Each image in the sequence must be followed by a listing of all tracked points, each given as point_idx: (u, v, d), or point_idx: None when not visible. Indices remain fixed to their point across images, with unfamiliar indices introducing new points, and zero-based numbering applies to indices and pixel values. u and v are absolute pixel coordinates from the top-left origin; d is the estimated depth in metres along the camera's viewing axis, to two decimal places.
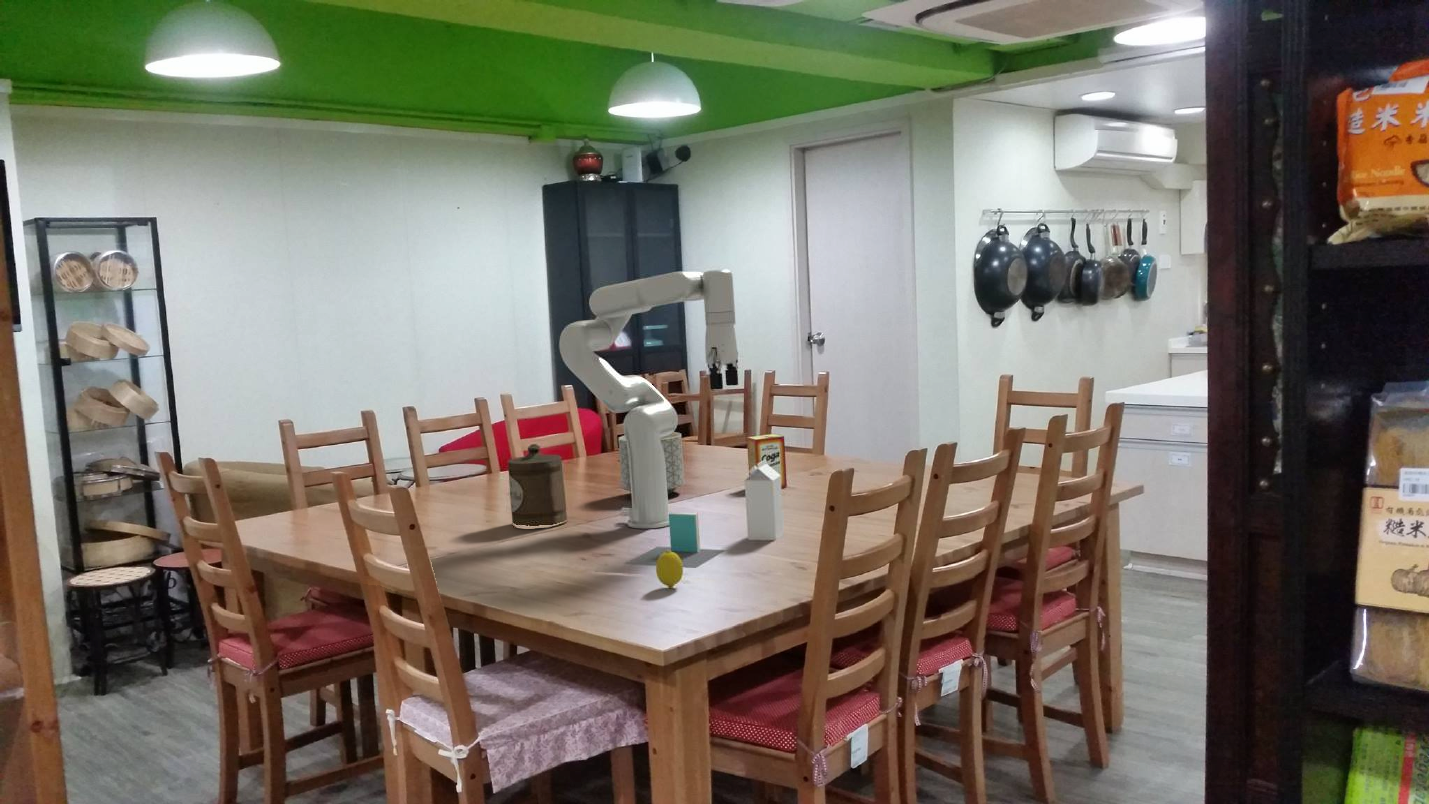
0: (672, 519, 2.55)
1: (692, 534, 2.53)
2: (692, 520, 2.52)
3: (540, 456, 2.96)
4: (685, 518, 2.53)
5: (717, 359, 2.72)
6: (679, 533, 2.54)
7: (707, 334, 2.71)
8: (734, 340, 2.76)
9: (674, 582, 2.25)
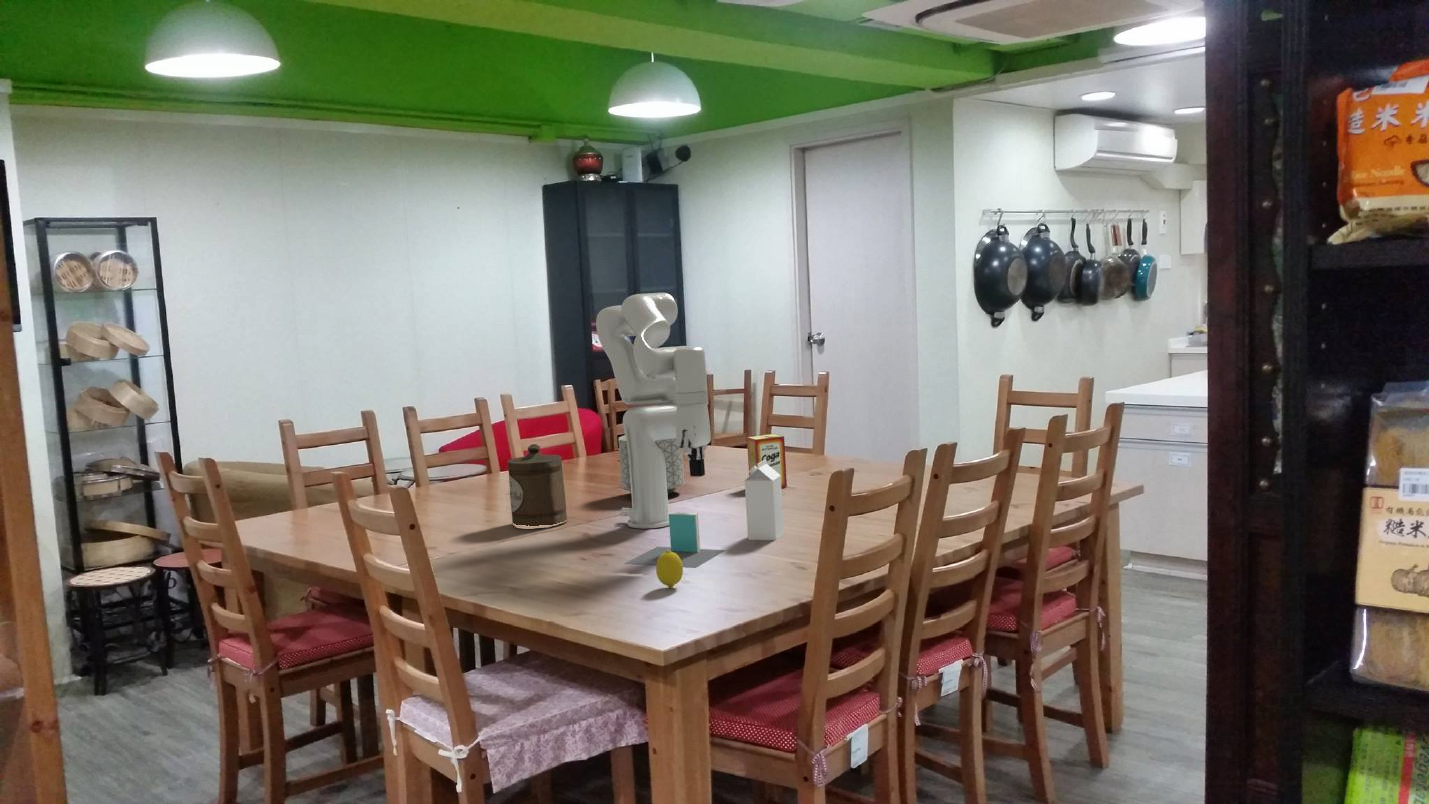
0: (672, 519, 2.55)
1: (692, 534, 2.53)
2: (692, 520, 2.52)
3: (540, 456, 2.96)
4: (685, 518, 2.53)
5: None
6: (679, 533, 2.54)
7: (678, 416, 2.56)
8: (707, 421, 2.61)
9: (674, 582, 2.25)
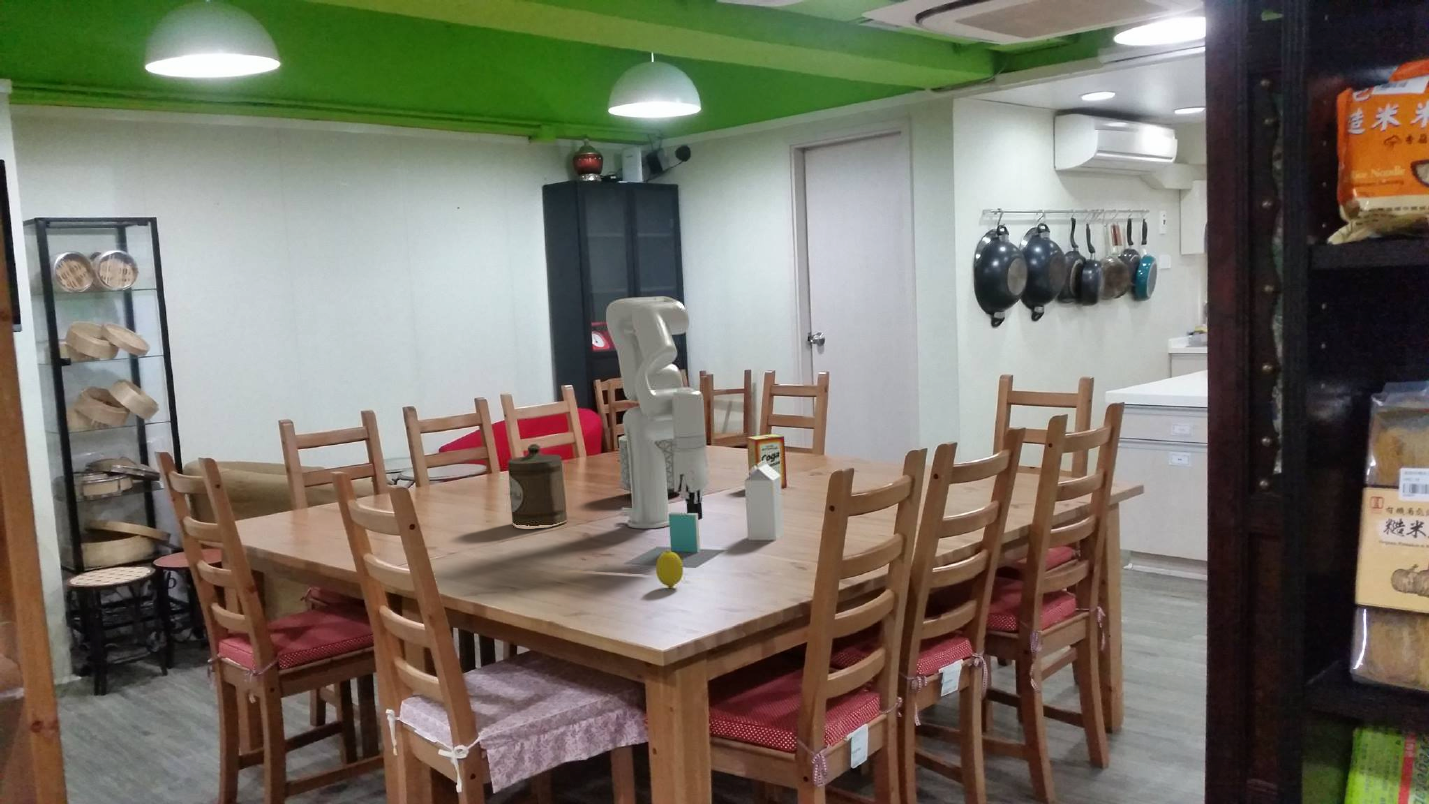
0: (672, 519, 2.55)
1: (692, 534, 2.53)
2: (692, 520, 2.52)
3: (540, 456, 2.96)
4: (685, 518, 2.53)
5: None
6: (679, 533, 2.54)
7: (675, 460, 2.55)
8: (705, 464, 2.60)
9: (674, 582, 2.25)
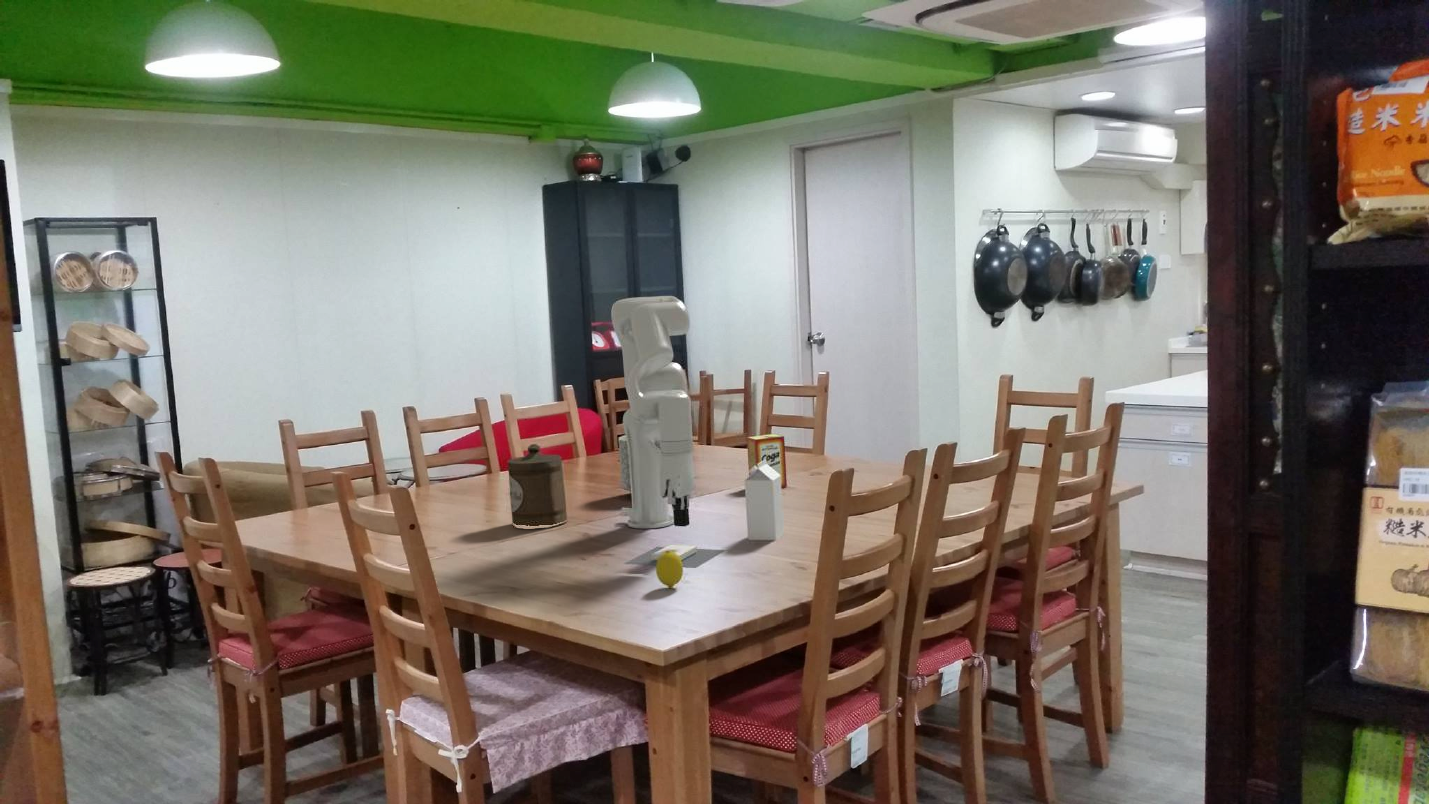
0: None
1: None
2: None
3: (540, 456, 2.96)
4: None
5: None
6: None
7: (662, 465, 2.49)
8: (692, 469, 2.54)
9: (674, 582, 2.25)
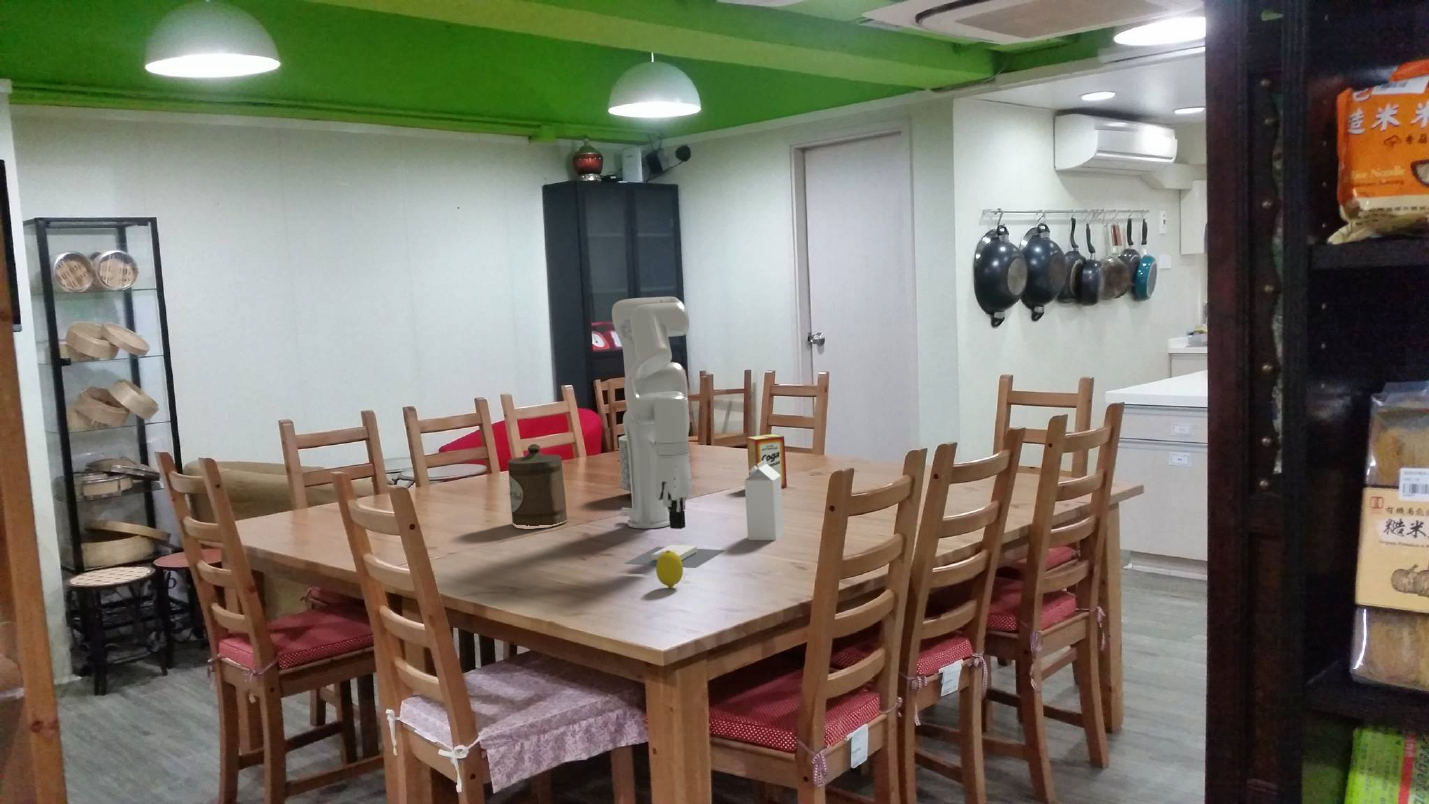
0: None
1: None
2: None
3: (540, 456, 2.96)
4: None
5: None
6: None
7: (657, 467, 2.47)
8: (688, 471, 2.52)
9: (674, 582, 2.25)
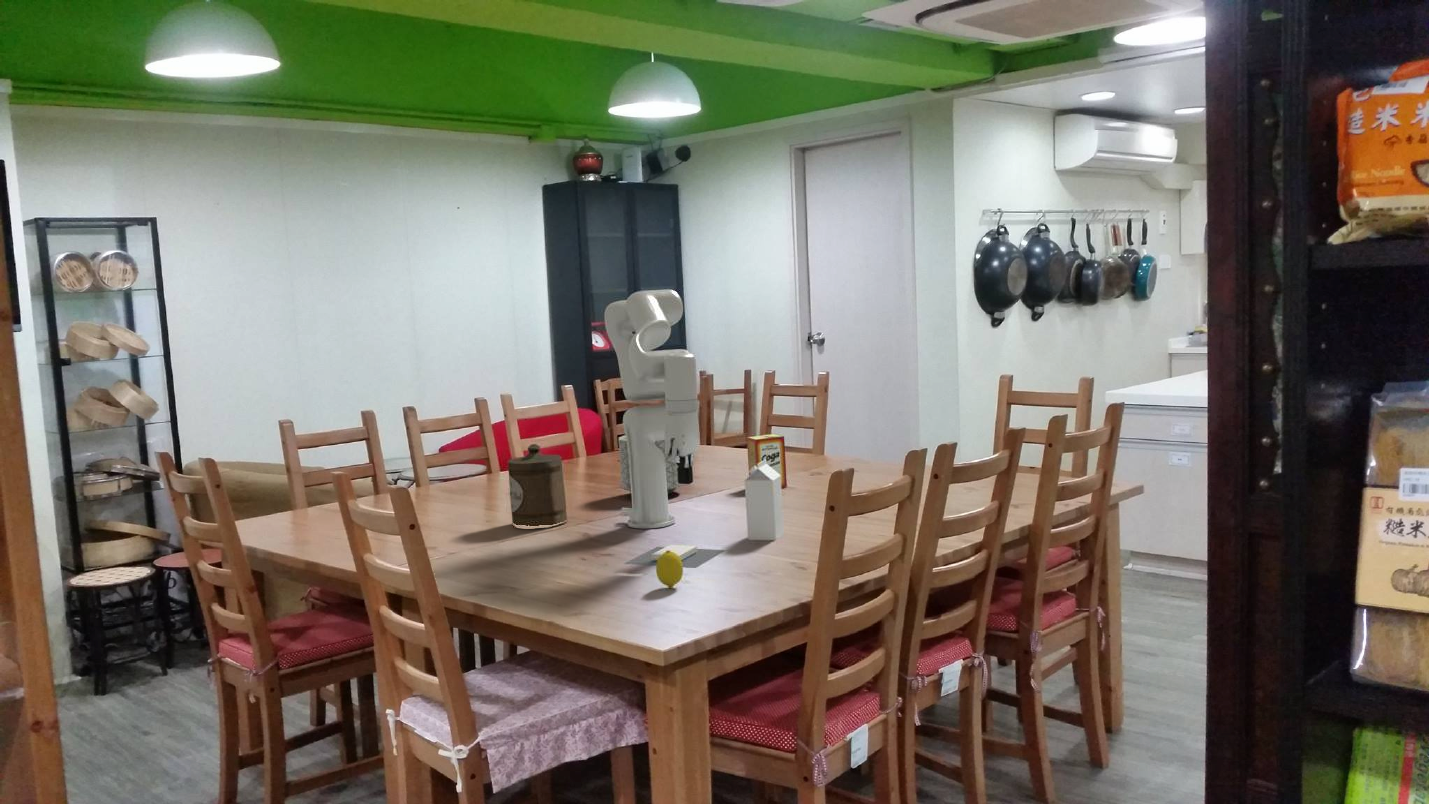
0: None
1: None
2: None
3: (540, 456, 2.96)
4: None
5: None
6: None
7: (666, 423, 2.52)
8: (697, 428, 2.57)
9: (674, 582, 2.25)
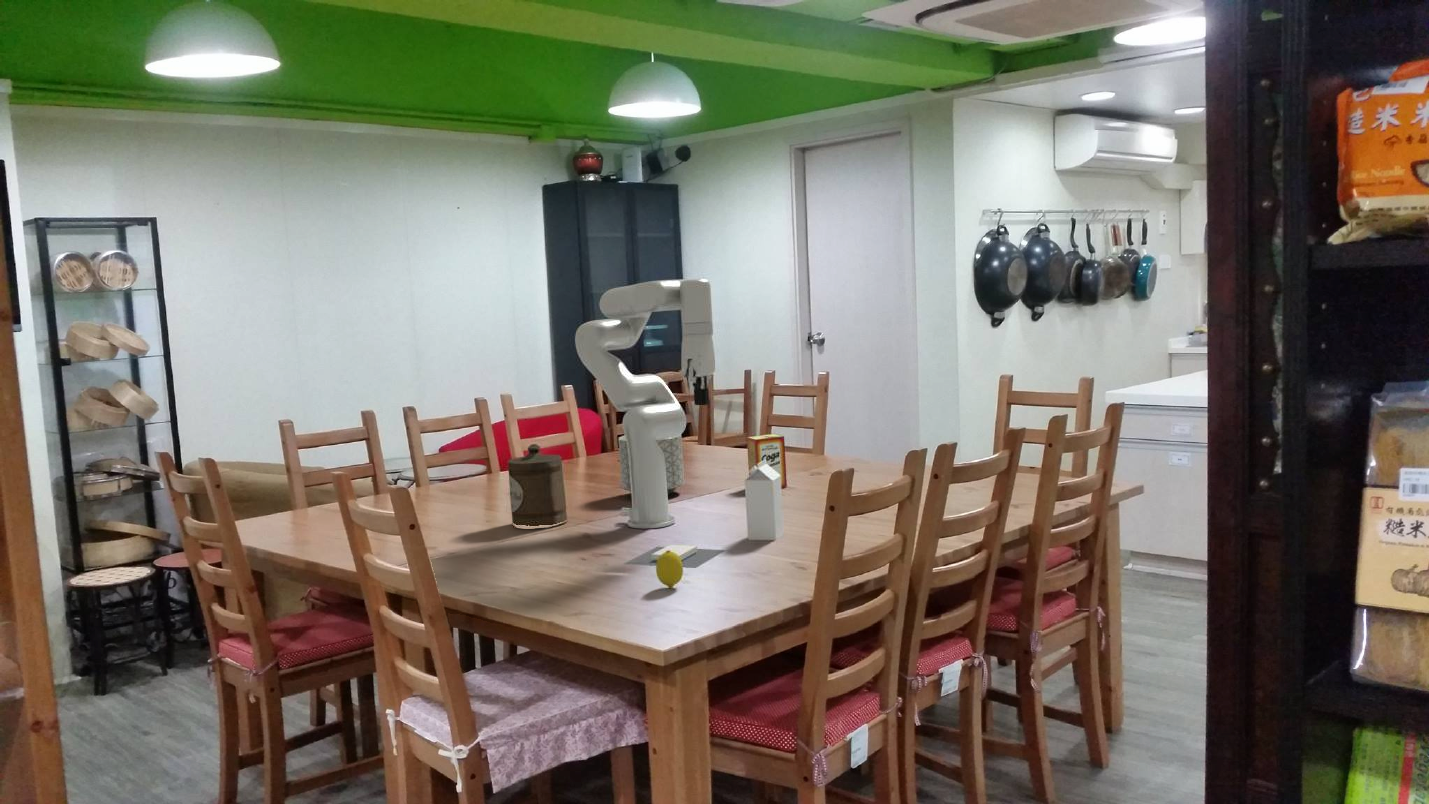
0: None
1: None
2: None
3: (540, 456, 2.96)
4: None
5: None
6: None
7: (683, 345, 2.64)
8: (712, 351, 2.69)
9: (674, 582, 2.25)
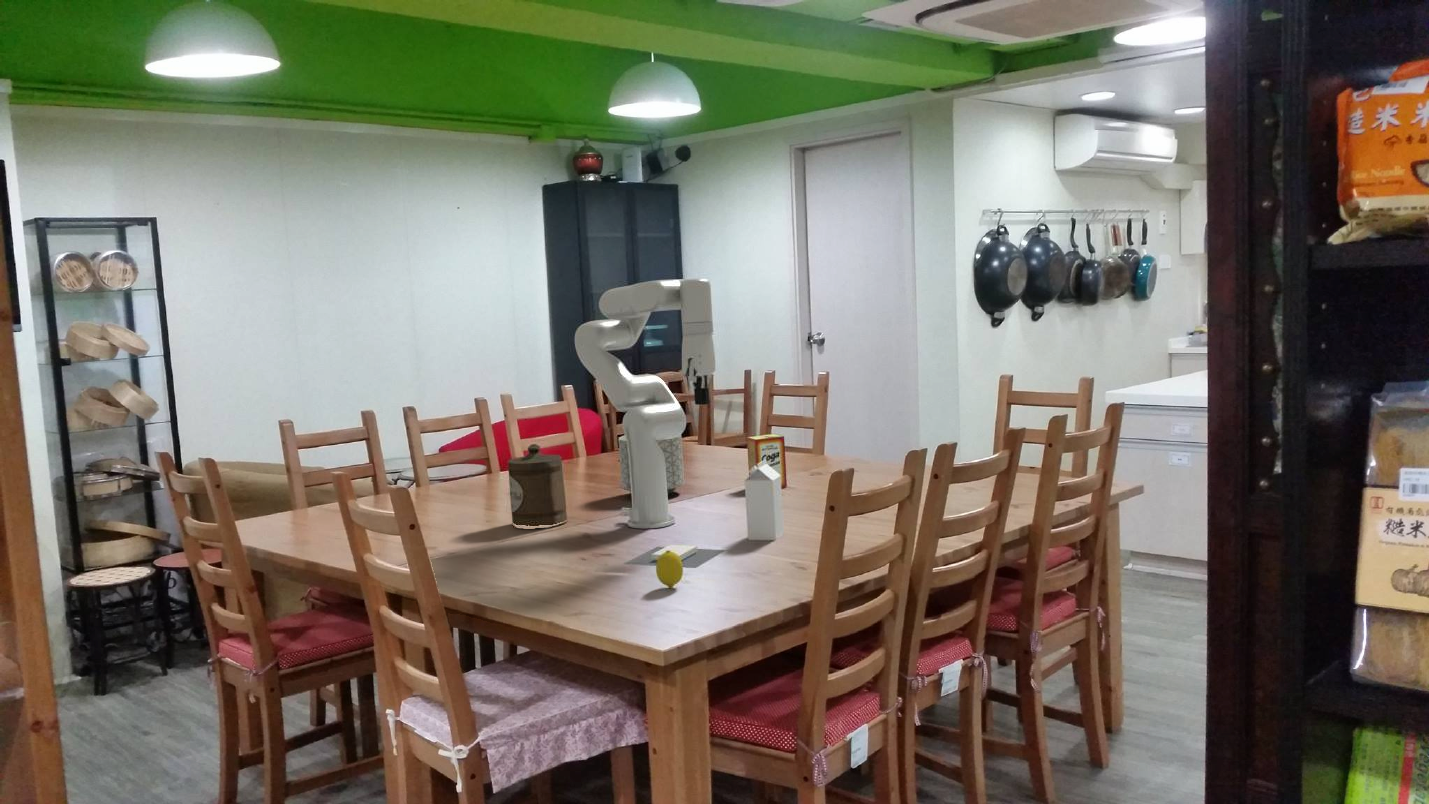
0: None
1: None
2: None
3: (540, 456, 2.96)
4: None
5: None
6: None
7: (683, 345, 2.64)
8: (712, 351, 2.69)
9: (674, 582, 2.25)
